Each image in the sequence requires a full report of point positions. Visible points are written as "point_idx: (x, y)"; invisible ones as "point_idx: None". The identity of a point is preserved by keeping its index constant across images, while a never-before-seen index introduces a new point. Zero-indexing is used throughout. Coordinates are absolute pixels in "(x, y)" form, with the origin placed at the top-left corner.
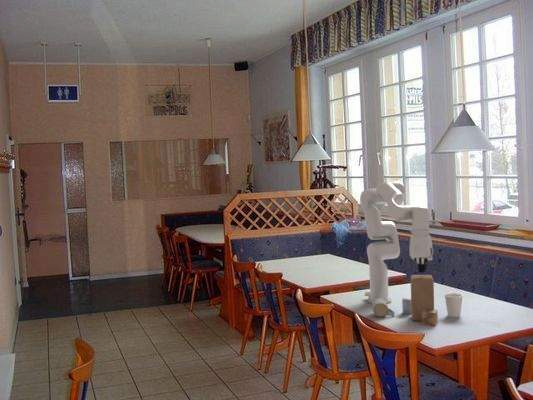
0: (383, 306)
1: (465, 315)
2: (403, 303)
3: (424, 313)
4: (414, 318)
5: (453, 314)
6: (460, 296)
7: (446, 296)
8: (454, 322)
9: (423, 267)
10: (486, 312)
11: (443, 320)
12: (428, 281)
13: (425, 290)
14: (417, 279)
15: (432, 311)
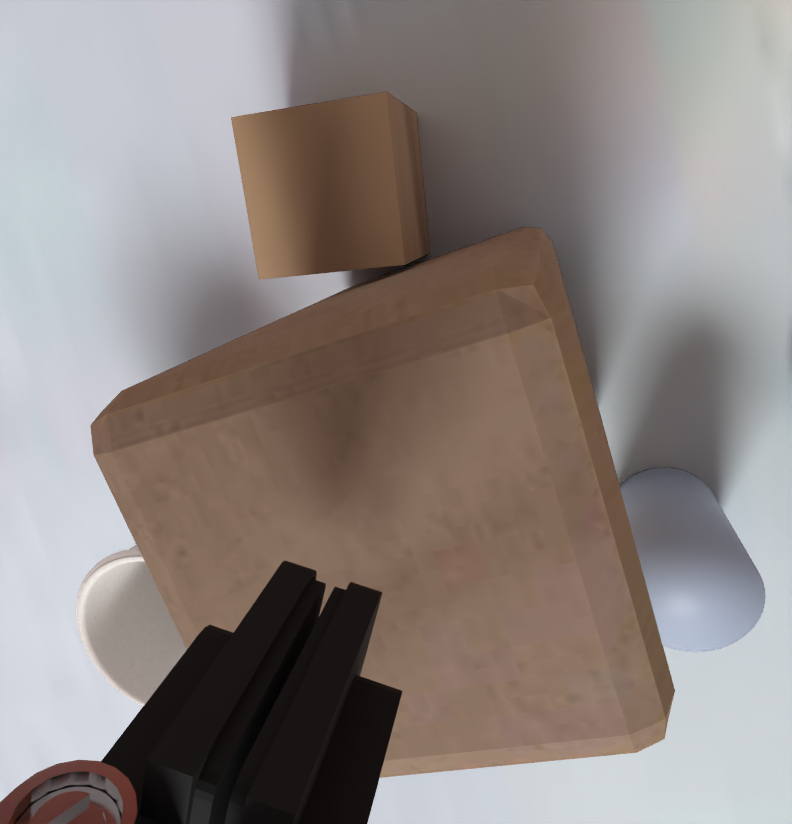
0: None
1: None
2: (727, 528)
3: (356, 99)
4: (522, 227)
5: None
6: (80, 593)
7: None
8: (188, 325)
9: (174, 691)
10: (95, 671)
11: None
12: (184, 371)
13: (311, 315)
14: (394, 316)
15: (282, 181)
